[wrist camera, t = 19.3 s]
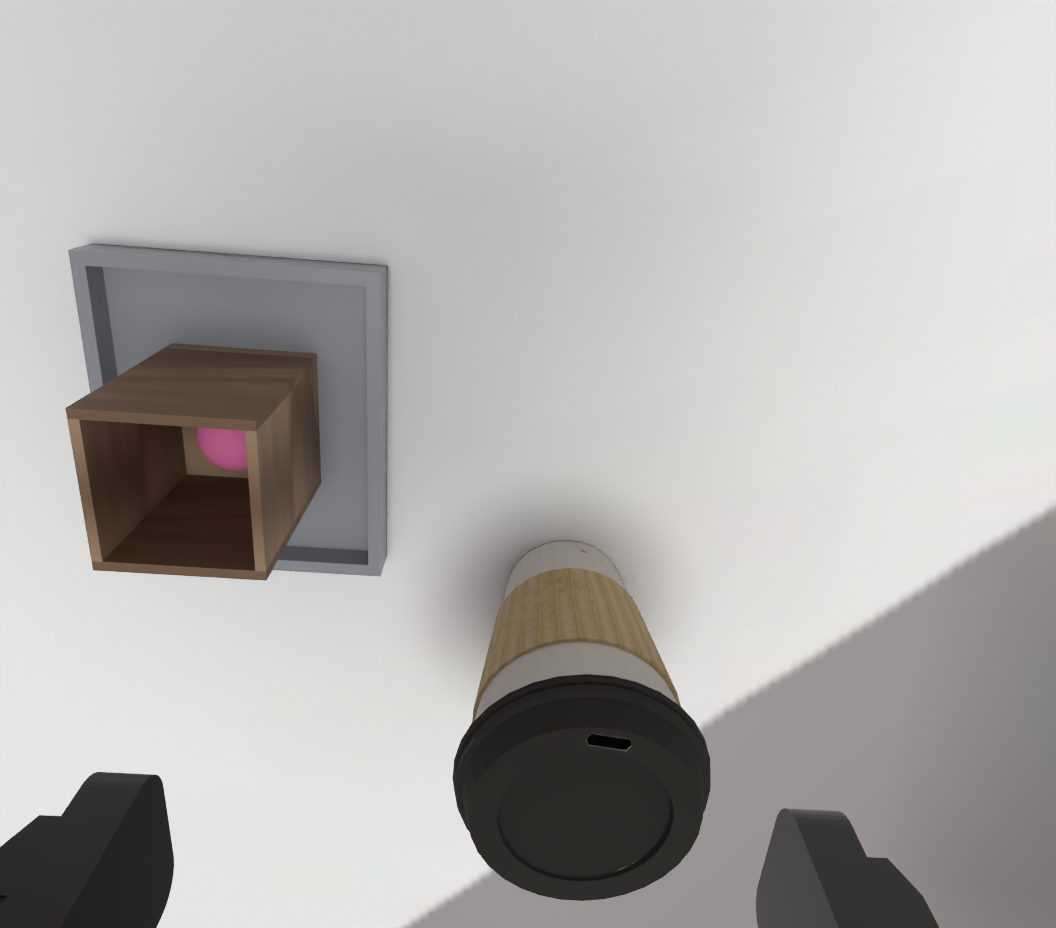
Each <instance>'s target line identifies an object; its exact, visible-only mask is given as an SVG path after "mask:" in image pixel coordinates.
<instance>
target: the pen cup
mask: <svg viewBox="0 0 1056 928" xmlns="http://www.w3.org/2000/svg"><path fill="white" fill-rule="evenodd" d="M66 413H67V419H68V425H69V431H70V437H71V443H72V449H73V454H74V460H75V466H76V472H77V478H78V484H79V490H80V495H81V501H82V507H83V513H84V519H85V525H86V531H87V537H88V542H89V548H90V554H91V560H92V566H93V570H99V571H116V572H133V573H150V574H167V575H184V576H201V577H218V578H235V579H252V580H267V578H268V577H269V575H270V573H271V571H272V570H273V568H274V566H275V564H276V563H277V561H278V559H279V557H280V555H281V554H282V552H283V550H284V548H285V547H286V545H287V543H288V541H289V539H290V538H291V536H292V534H293V532H294V531H295V529H296V527H297V525H298V524H299V522H300V520H301V518H302V516H303V515H304V513H305V511H306V509H307V508H308V506H309V504H310V502H311V501H312V499H313V497H314V495H315V493H316V492H317V490H318V488H319V486H320V485H321V459H320V430H319V400H318V371H317V353H304V352H290V351H275V350H261V349H247V348H233V347H218V346H204V345H190V344H176V343H171V344H170V345H168V346H166V347H165V348H163V349H161V350H160V351H158V352H157V353H155V354H153V355H152V356H150V357H148V358H147V359H145V360H143V361H142V362H140V363H139V364H137V365H135V366H134V367H132V368H130V369H129V370H127V371H126V372H124V373H122V374H121V375H119V376H117V377H116V378H114V379H112V380H111V381H109V382H108V383H106V384H104V385H103V386H101V387H99V388H98V389H96V390H94V391H93V392H91V393H90V394H88V395H86V396H85V397H83V398H81V399H80V400H78V401H77V402H75V403H73V404H72V405H70V406H68V407H67V408H66ZM196 427H198V428H213V429H228V430H243V431H245V439H246V452H247V466H248V469H247V470H241V471H234V470H227V469H224V468H221V467H219V466H217V465H215V464H213V463H212V462H211V461H209V460H208V459H207V458H206V457H205V456H204V454H203V453H202V451H201V450H200V448H199V445H198V443H197V439H196Z"/></svg>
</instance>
